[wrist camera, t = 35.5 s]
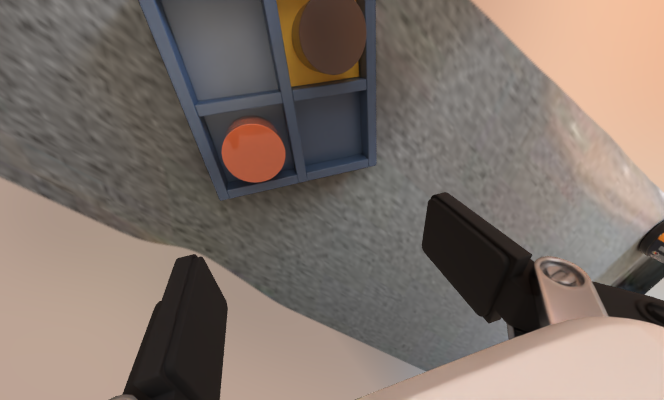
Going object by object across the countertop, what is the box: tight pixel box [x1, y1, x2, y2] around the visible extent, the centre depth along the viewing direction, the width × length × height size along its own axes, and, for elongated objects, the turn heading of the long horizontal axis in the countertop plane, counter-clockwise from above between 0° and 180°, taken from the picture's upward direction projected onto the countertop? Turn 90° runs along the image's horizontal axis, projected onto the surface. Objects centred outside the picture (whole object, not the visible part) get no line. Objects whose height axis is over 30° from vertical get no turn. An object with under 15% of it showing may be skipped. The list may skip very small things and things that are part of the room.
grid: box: [138, 0, 376, 201], centre depth 19 cm, size 14×14×2 cm
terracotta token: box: [222, 115, 286, 183], centre depth 19 cm, size 4×4×3 cm
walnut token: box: [292, 0, 366, 75], centre depth 17 cm, size 4×4×3 cm
